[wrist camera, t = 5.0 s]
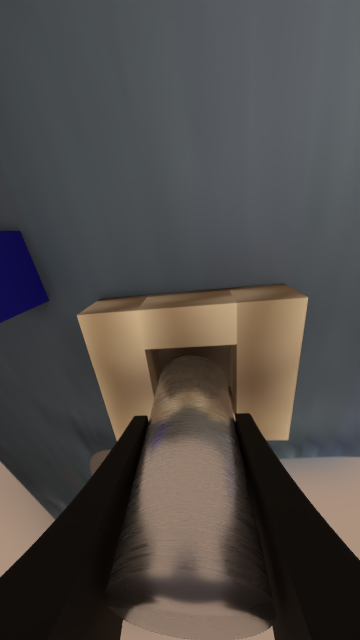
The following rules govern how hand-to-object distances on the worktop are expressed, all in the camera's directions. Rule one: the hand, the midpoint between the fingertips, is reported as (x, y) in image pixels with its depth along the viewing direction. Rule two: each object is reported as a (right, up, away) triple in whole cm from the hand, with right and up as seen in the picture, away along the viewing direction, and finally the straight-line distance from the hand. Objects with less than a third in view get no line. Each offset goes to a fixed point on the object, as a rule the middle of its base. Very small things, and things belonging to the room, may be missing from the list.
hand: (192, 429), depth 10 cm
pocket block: (0, +2, +6) cm, 6 cm away
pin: (0, +1, +3) cm, 3 cm away
